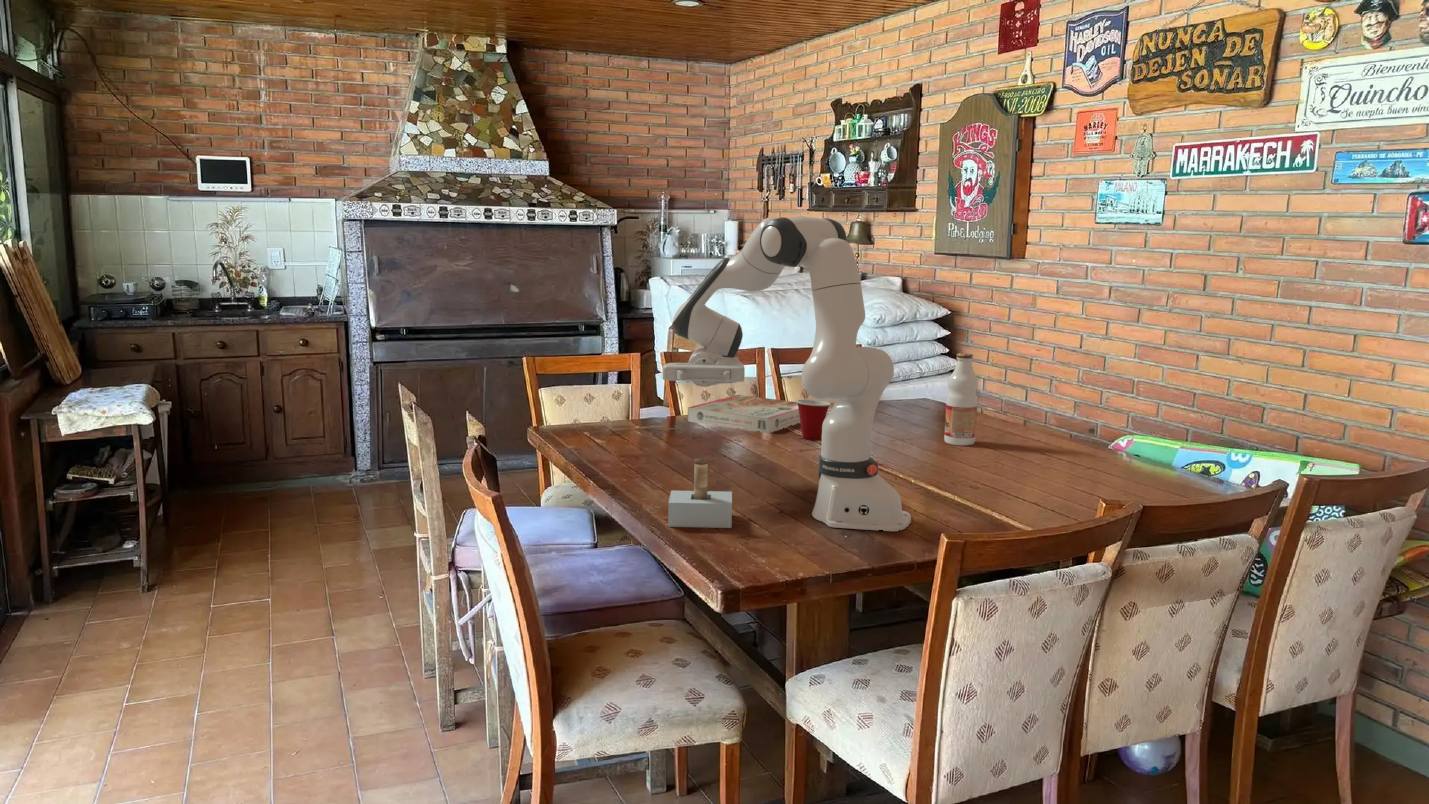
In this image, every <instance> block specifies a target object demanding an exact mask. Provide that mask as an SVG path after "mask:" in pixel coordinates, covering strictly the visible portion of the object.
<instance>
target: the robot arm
mask: <svg viewBox="0 0 1429 804" xmlns="http://www.w3.org/2000/svg"><path fill="white" fill-rule="evenodd" d="M847 238H848V237H847V233H846V231H845V228H844V227H843V225H842V224H841V223H840V222H839V221H837V220H834V219H831V218H827V217H821V218H820V217H819V218H818V217H810V216H809V217H808V216H800V215H799V216H791V217H783V216H782V217H778V216H770V217H766V218H764V219H763V220H762V221H761V222H760V223H759V224H758V225H757V227H755V229H754V230H753V231H752V232H751V234H750V236H749V237H748V239H747V240H746V241H745V243H744V246H743V248H742V249H741V250H740V252H739V253H738V254H736V255H734V256H732V257H725V258H723V259H721V260H720V261H718V263H717V264H716V265H715V266H714V267H713V268H712V270H711V271H710V272H709V273H708V274H707V276H705V278H704V279H703V280H702V282H701V283H700V284H699V285H698V287H697V288H696V289H695V290H694V291H693V293H692V294H691V295H690V296H689V297H688V298H687V299H686V301H685V302H683V303H682V304H681V305H680V306H679V307H678V308H677V310H676V311H675V314H674V316H673V321H672V327H673V328H674V330H675V333H676V334H677V336H679V337H681V338H684V339H685V340H690V341H691V342H694V343H695V344H698V345H699V347H698V348H697V349H695V350H694V351H693V352H692V353H691V355H690V357H689V360H688V361H687V362H669V363H666V364H664V365H663V366H662V380H663V381H666V382H667V381H669V382H671V381H674V382H675V381H676V382H680V381H681V382H691V383H693V384H694V385H695V386H698V387H701V388H702V387H703V388H708V387H711V386H716V385H719V384H734V383H735V384H737V383H742V382H745V365H744V363H743V362H742V361H740V360H739V359H740V358H739V357H738V356H736V355H737V353H738V351H739V348H740V347H741V344H742V340H743V337H744V335H743V334H744V333H743V330H742V326H741V324H740V323H738V322H737V321H735V320H733V319H731V318H730V317H729V316H725V315H724V314H721V313H720V312H718V311H716V310H713V309H711V308H710V307H708V306H706V303H707V302H708V301H709V300H710V299H711V298H712V296H714V294H715V292H717V291H719V290H720V289H732V290H733V289H735V290H741V291H744V292H745V291H746V292H760V291H764V290H767V289H769V288H770V287H772V285H773V284H775V282H776V281H777V280H778V278H779V276H780V275H781V273H782V272H783V270H784V269H785V267H786V266H788V267H792V268H795V267H798V266H800V265H801V266H803V267H805V268H806V269H807V271H808V273H809V274H808V275H809V277H810V286H811V293H812V294H811V295H812V300H813V301H812V302H813V310H814V319H815V333H814V342H813V346H812V351H811V353H810V356H809V357H808V358H807V360H806V362H805V363H804V364H803V367H802V370H801V382H802V386H803V388H804V390H805V391H806V393H807V394H808V395H809V396H810V397H812V398H813V399H814V398H815V399H817V400H824V401H825V400H826V401H834V403H833V406H832V408H831V410H830V412H829V413H827V414H826V418H825V419H824V421H823V425H822V436H821V450H820V451H821V452H820V454H819V458H818V466H817V474H818V480H819V481H818V488H817V494H816V498H815V501H814V502H815V503H814V506H813V509H812V512H811V516H812V517H813V518H814V519H815V520H817V521H819V522H822V523H824V524H826V525H827V526H828V527H830V528H836V529H838V528H839V529H852V530H853V529H854V530H865V531H869V530H870V531H879V530H883V531H882V532H900V531H902V530H905V529H907V528H908V527H909V526H910V525H911V523H912V515H911V514H910V513H909V512H908V511H906V510H903V508H902V507H903V506H902V500H901V496H900V493H899V492H898V491H897V490H896V489H895V488H894V487H893V486H891V485H890V484H889V483H888V482H887V481H885V480H884V479H883V478H882V477H881V476H880V475H879V473H878V472H879V465H880V464H879V459H877V460H876V461H875V460H874V458H872V457H871V441H872V428H873V423H874V418H875V414H876V410H877V408H878V405H879V403H880V400H881V397H882V395H883V392H884V391H885V390H886V389H887V387H888V386H889V384H891V382H892V380H893V378H894V373H895V368H894V366H895V365H894V363H893V360H892V358H891V356H890V355H889V354H888V353H887V352H886V351H885V350H883V349H879V348H875V347H871V346H859V347H857V346H856V345H857V337H858V333H859V330H860V328H861V326H862V325H863V324H864V323H865V320H866V311H865V310H866V309H865V302H864V296H863V289H862V282H861V277H860V276H861V275H860V271H859V267H858V263H857V259H856V256H855V254H854V251H853V247H852V246H851V245H850V243H849V242H848V240H847ZM909 524H910V525H909ZM906 527H907V528H906ZM899 530H900V531H899Z"/></svg>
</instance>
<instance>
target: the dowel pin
mask: <svg viewBox="0 0 1429 804" xmlns="http://www.w3.org/2000/svg"><path fill="white" fill-rule="evenodd" d="M693 460H694V462H693V465H694V469H693V471H694V473H693V474H694V475H693V477H694V478H693V479H694V480H693V484H694V485H693V491H694V500H707V491H708V478H709V477H708V474H709V472H708V470H709V469H708V468H709V466H708V465H709V459H708V458H704V457H698V458H694V459H693Z"/></svg>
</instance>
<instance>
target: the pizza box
mask: <svg viewBox="0 0 1429 804" xmlns="http://www.w3.org/2000/svg"><path fill="white" fill-rule="evenodd" d="M687 422H691V423H696V424H704V425H711V426H717V427H724V428H731V429H736V428H739V429H738V430H743V429H745V430H744V431H749V432H750V431H751V432H756V431H760V432H759V433H763V432H764V433H765V434H772V433H774V431H775V432H777V431H780V430H783V428H784V429H786V428H789V427H791V426H790V425H792V426H795V425H797V423H798V424H800V415H799V409H798V403H797V401H789V400H784V399H783V400H782V399H774V398H766V397H760V396H759V397H758V396H751V395H742V394H734V395H732V396H727V397H725V398H720V399H715V400H713V401H709V402H704V403H700V404H696V405H692V406H688V407H687ZM788 426H789V427H788Z"/></svg>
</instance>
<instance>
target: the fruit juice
mask: <svg viewBox="0 0 1429 804" xmlns="http://www.w3.org/2000/svg"><path fill="white" fill-rule="evenodd" d="M973 358H974V355H973V354H972V353H967V352H960V353H956V365H955V366H954V367H955V368H954V369H953V371H952V373H951V374H950V375H949V376H948V380H947V386H948V393H947V395H946V401H945V419H944V437H943V441H944V442H945V443H947V444H949V445H954V446H963V447H964V446H965V447H966V446H973V445H974V444H975V442H976V432H977V416H978V415H977V414H978V395H977V390H978V387H979V378H978V377H977V375H976V373H975V371H974V368H973V364H972V363H973V360H974V359H973Z"/></svg>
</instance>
